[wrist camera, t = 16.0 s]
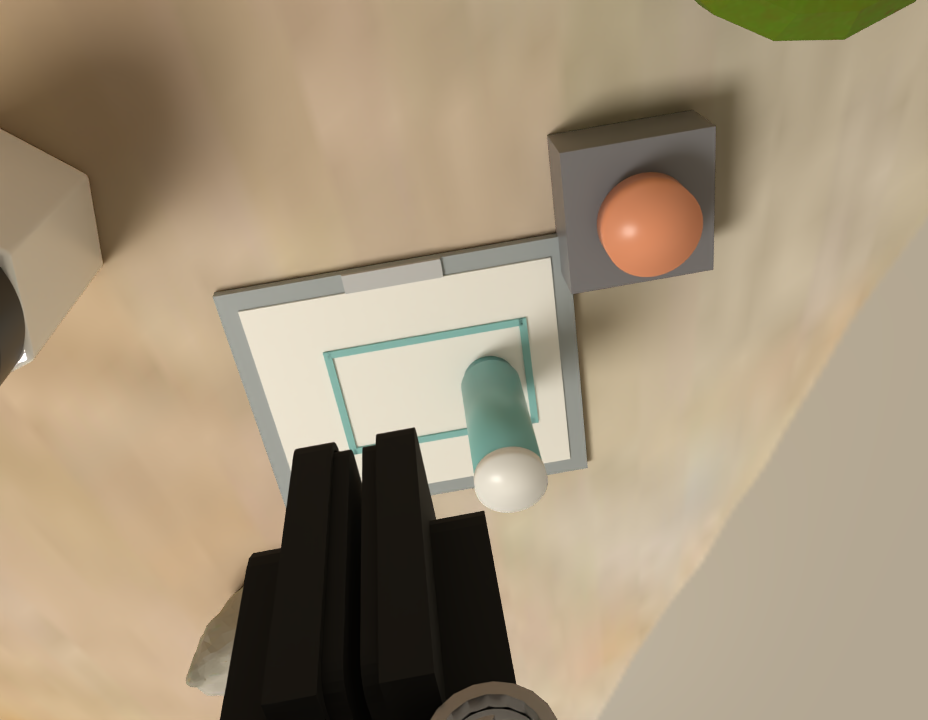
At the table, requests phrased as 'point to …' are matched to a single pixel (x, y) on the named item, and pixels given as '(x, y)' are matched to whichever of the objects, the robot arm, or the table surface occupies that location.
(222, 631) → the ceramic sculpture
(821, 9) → the apple
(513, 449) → the marker
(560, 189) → the button housing
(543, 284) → the white flat board
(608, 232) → the button
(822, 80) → the table surface
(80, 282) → the jar
